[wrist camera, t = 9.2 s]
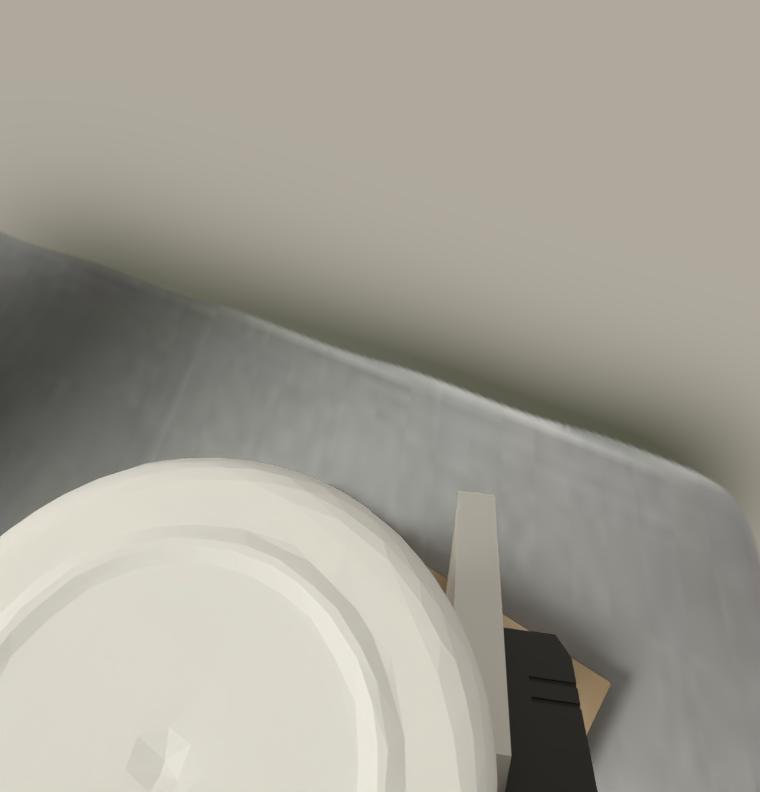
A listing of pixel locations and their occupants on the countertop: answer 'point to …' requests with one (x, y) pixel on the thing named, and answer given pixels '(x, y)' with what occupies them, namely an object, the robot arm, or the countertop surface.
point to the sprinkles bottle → (230, 643)
